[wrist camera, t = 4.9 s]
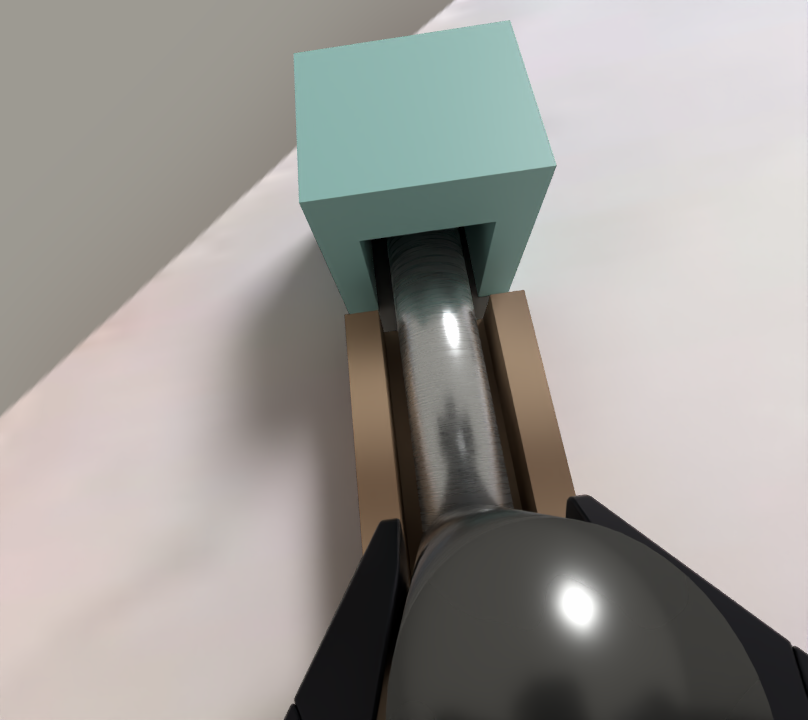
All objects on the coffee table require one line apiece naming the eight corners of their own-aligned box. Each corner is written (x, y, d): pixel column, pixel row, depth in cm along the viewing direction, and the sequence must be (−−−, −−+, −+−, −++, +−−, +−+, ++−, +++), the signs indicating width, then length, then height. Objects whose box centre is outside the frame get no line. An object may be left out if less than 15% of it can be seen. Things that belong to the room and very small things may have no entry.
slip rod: (534, 611, 12) (868, 984, 3) (426, 624, 12) (409, 1027, 3) (457, 223, 17) (488, -102, 8) (379, 233, 17) (319, -75, 8)
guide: (664, 978, 10) (753, 1161, 7) (408, 1003, 10) (400, 1192, 8) (512, 324, 17) (529, 289, 14) (354, 345, 17) (339, 315, 14)
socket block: (507, 292, 17) (556, 165, 10) (349, 314, 17) (299, 202, 11) (482, 184, 19) (510, 20, 12) (340, 205, 19) (293, 53, 13)
